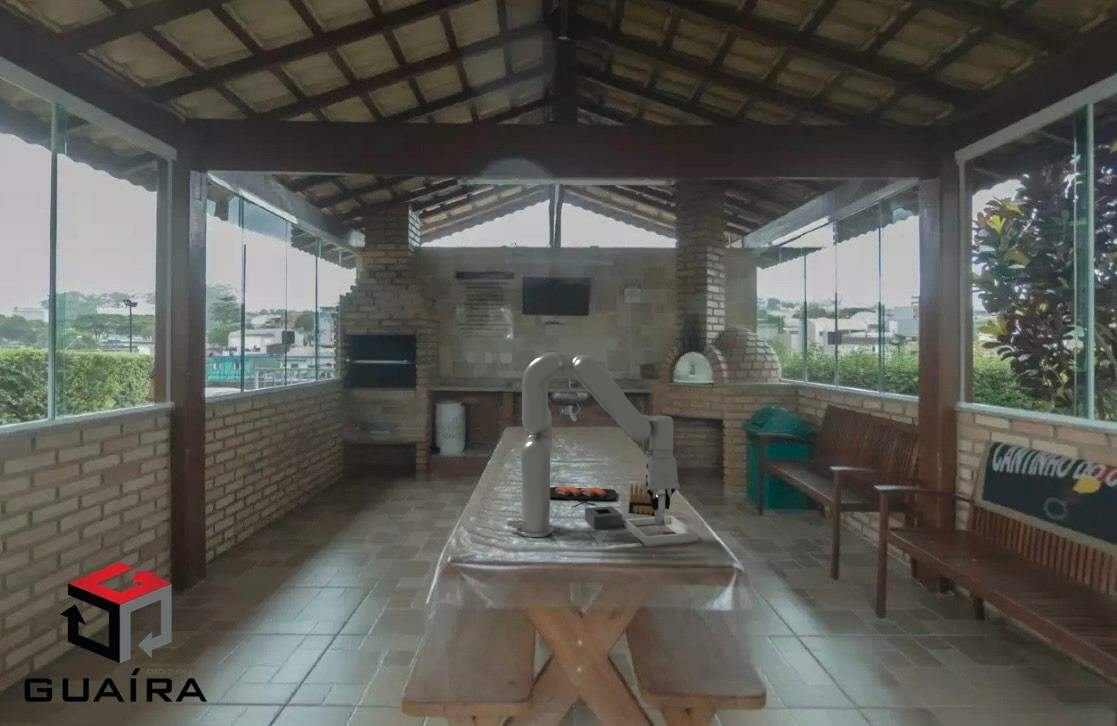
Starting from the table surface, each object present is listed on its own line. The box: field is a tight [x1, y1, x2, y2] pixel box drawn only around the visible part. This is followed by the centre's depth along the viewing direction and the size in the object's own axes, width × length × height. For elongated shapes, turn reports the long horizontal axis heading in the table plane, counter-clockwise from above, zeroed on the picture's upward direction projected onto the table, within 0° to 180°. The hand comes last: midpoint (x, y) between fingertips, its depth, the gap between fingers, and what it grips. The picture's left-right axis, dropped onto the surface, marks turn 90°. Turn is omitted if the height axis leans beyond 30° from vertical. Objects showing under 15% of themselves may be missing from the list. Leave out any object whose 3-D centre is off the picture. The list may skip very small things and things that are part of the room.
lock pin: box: [654, 492, 667, 527], centre depth 192 cm, size 4×4×10 cm
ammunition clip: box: [628, 482, 659, 517], centre depth 212 cm, size 11×2×12 cm, turn 83°
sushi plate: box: [550, 486, 617, 508], centre depth 229 cm, size 29×30×4 cm
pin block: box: [584, 505, 623, 530], centre depth 201 cm, size 10×10×5 cm
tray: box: [623, 515, 698, 548], centre depth 192 cm, size 18×18×3 cm
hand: (660, 508), depth 192 cm, fingers closed on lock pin, 3 cm apart
